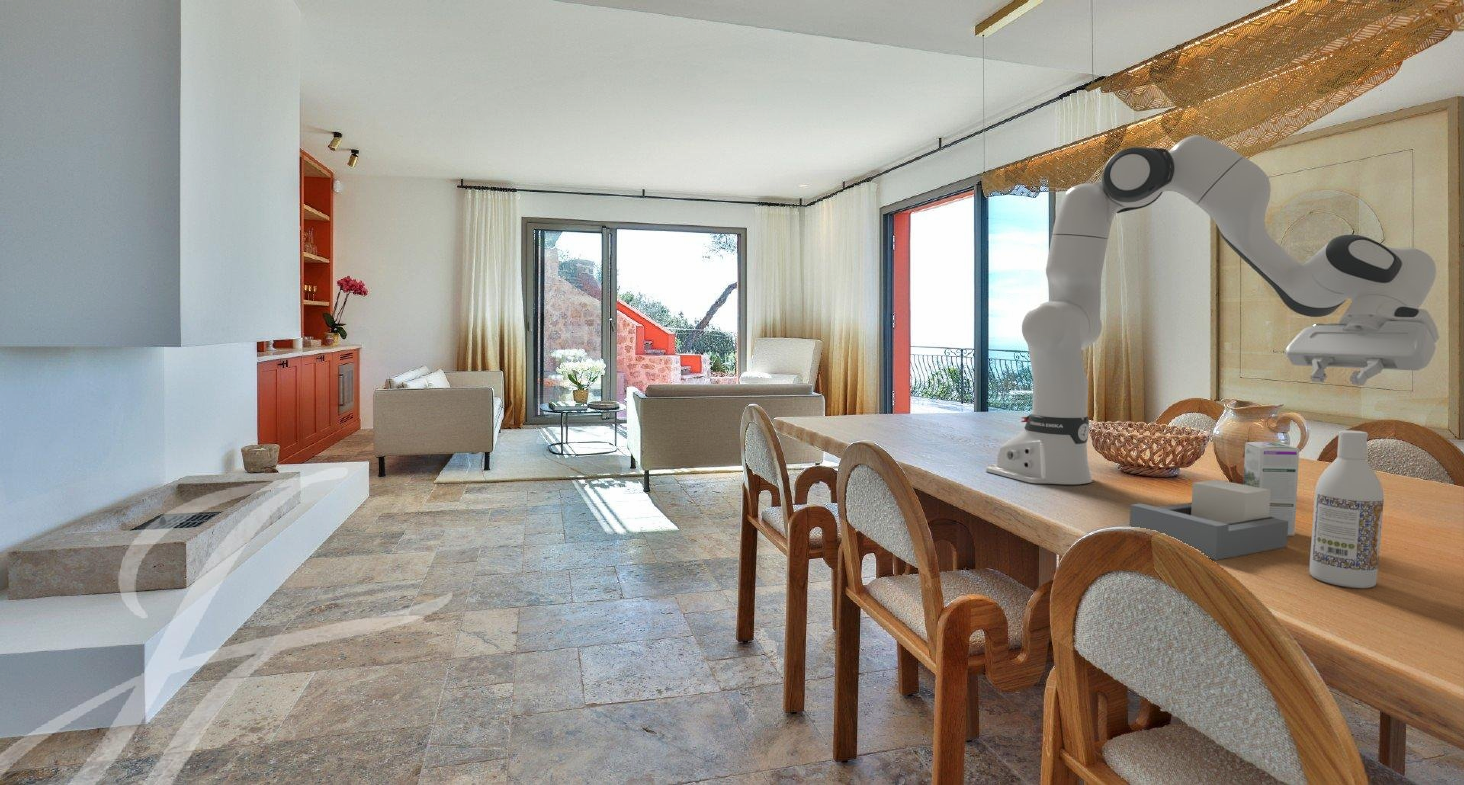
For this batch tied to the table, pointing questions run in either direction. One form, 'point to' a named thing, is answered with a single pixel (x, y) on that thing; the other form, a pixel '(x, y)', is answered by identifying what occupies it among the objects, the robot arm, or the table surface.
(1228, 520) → the block
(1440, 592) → the table surface
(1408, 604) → the table surface
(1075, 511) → the table surface
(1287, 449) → the syrup box
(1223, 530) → the friction dock
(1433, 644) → the table surface
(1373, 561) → the bath foam
